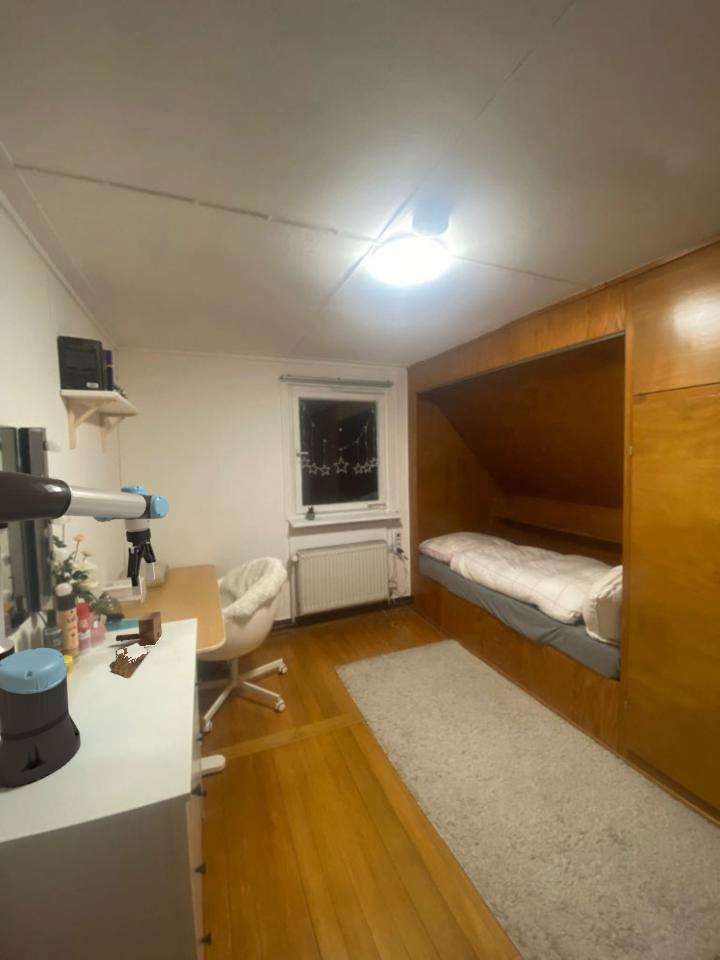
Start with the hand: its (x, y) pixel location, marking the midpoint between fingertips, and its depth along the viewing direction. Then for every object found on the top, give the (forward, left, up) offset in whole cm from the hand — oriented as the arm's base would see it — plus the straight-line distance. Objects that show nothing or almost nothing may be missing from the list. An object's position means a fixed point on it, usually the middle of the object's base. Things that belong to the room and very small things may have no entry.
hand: (144, 587), depth 138 cm
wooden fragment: (-10, -2, -22) cm, 24 cm away
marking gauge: (0, +5, -21) cm, 22 cm away
